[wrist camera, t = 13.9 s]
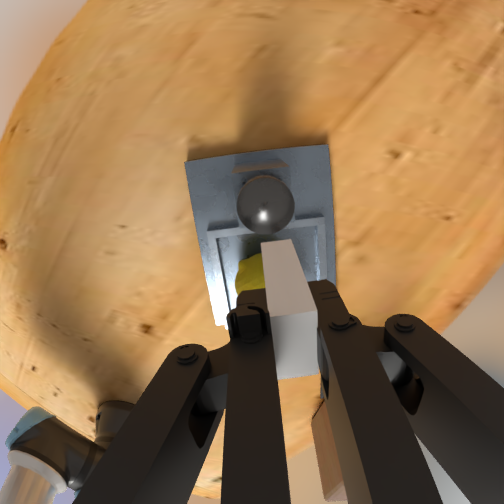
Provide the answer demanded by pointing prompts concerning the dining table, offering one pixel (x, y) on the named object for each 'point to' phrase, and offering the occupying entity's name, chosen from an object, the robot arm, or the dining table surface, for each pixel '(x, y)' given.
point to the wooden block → (327, 457)
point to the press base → (246, 241)
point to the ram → (265, 204)
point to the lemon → (250, 274)
